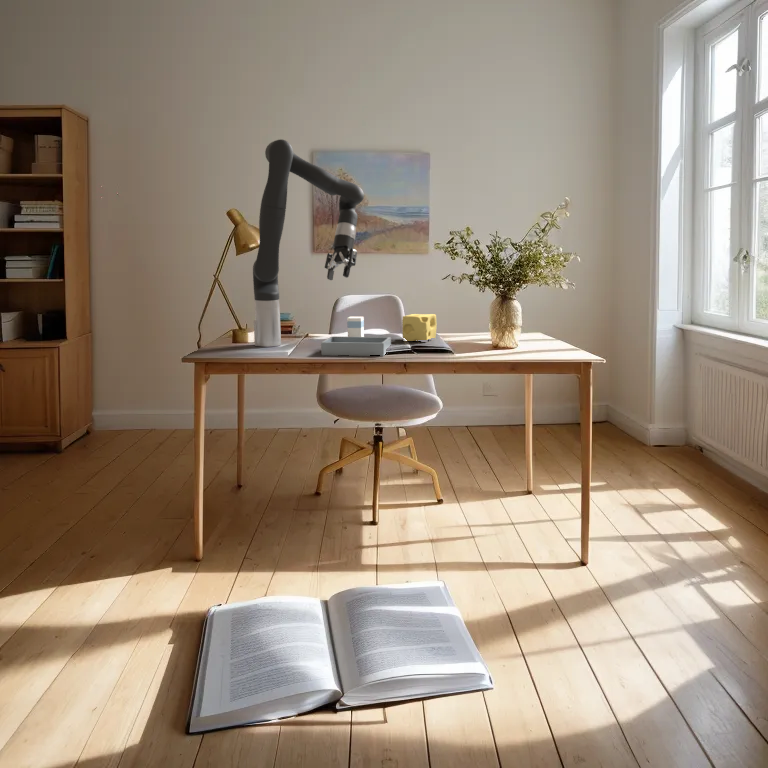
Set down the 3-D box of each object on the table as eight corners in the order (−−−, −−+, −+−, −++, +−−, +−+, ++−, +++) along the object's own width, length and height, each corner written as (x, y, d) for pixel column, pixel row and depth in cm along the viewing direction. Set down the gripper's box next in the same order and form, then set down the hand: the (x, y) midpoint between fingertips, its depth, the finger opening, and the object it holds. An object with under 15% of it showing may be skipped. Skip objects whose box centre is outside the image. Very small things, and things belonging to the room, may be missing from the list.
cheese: (426, 343, 311) (426, 316, 310) (400, 341, 316) (400, 315, 314) (437, 339, 321) (436, 313, 319) (411, 338, 325) (411, 313, 323)
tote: (321, 355, 285) (321, 342, 284) (331, 348, 300) (331, 336, 299) (383, 356, 281) (383, 343, 280) (390, 349, 296) (390, 337, 295)
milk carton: (347, 347, 302) (347, 318, 299) (350, 345, 306) (350, 316, 304) (361, 348, 301) (360, 318, 299) (364, 345, 306) (363, 316, 303)
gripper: (324, 236, 309) (317, 277, 305) (350, 230, 299) (343, 272, 296) (338, 244, 314) (331, 283, 311) (365, 238, 304) (358, 279, 301)
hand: (337, 278), depth 303 cm, fingers open, 8 cm apart
